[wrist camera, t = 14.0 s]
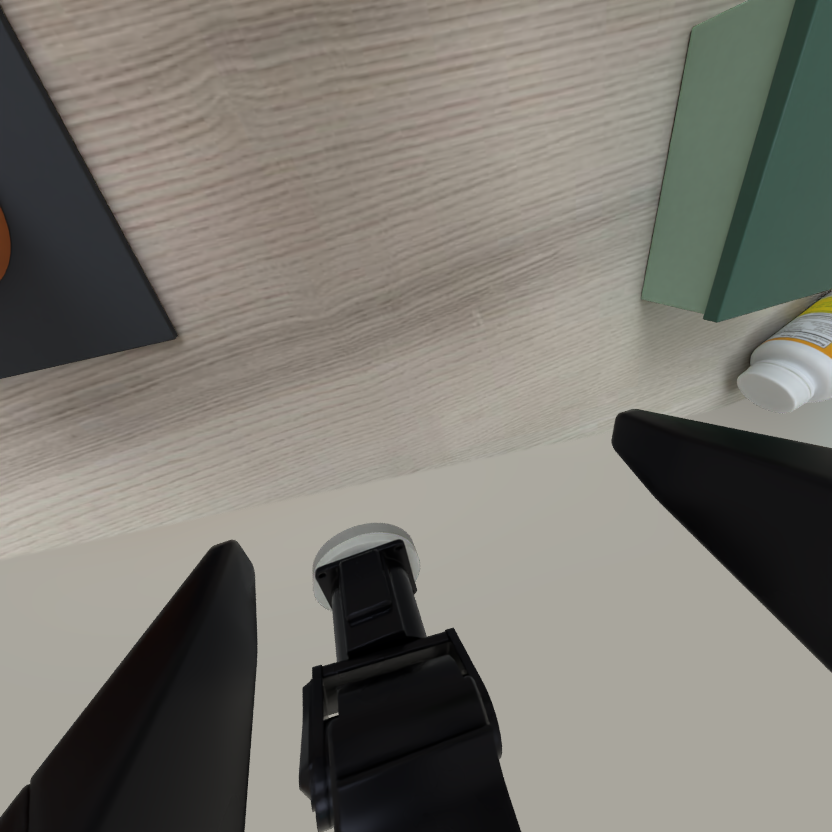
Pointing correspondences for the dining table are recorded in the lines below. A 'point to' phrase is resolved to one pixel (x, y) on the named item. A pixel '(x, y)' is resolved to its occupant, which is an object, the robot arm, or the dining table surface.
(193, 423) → the dining table surface
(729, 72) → the storage box
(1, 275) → the round tub
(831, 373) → the supplement bottle
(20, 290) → the mat
